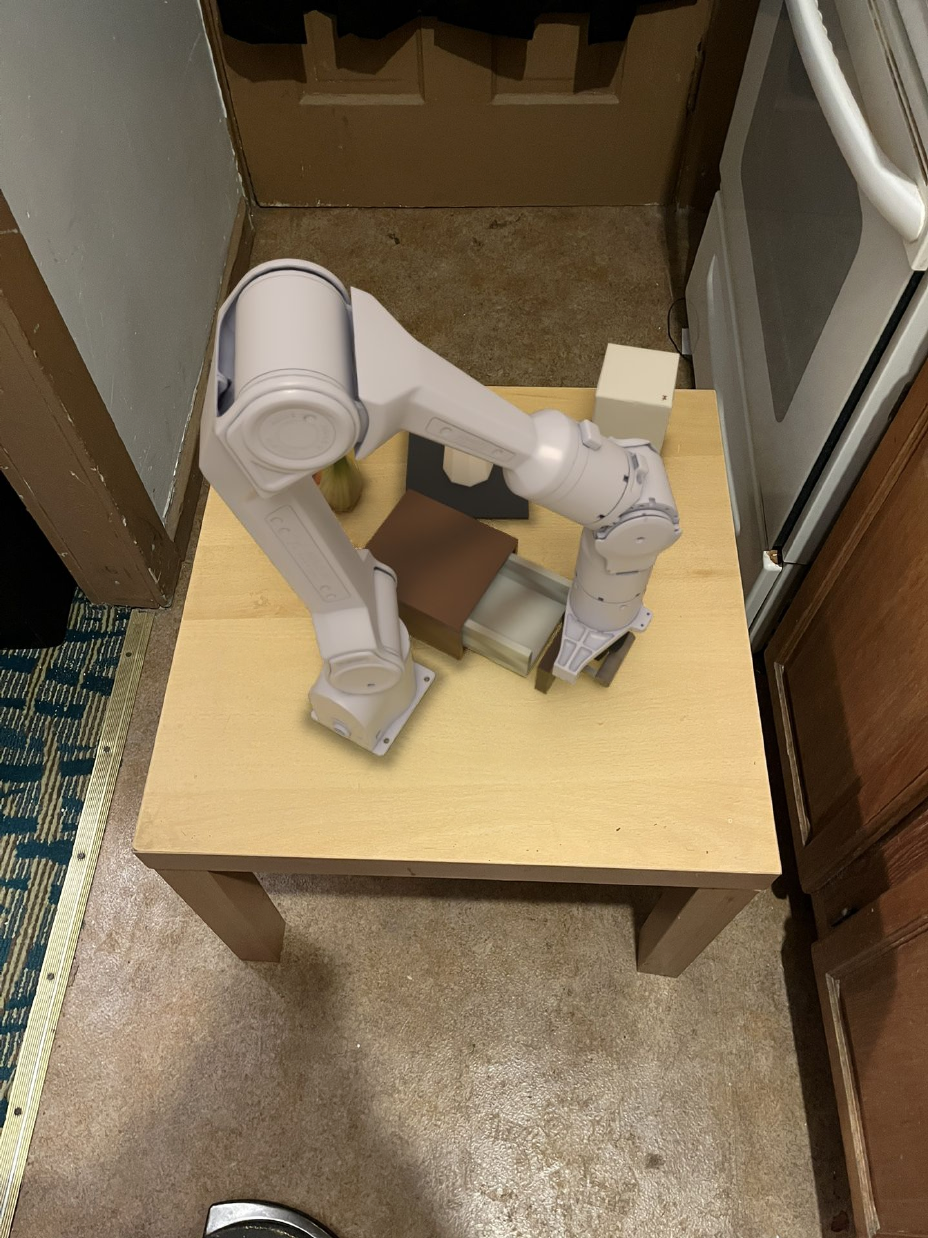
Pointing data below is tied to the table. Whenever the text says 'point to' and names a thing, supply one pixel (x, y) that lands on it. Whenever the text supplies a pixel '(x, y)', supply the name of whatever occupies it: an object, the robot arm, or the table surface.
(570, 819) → the table surface
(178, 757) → the table surface
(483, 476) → the pepper shaker
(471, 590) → the cabinet
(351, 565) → the robot arm
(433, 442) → the mat
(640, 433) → the white packaging box
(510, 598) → the drawer
